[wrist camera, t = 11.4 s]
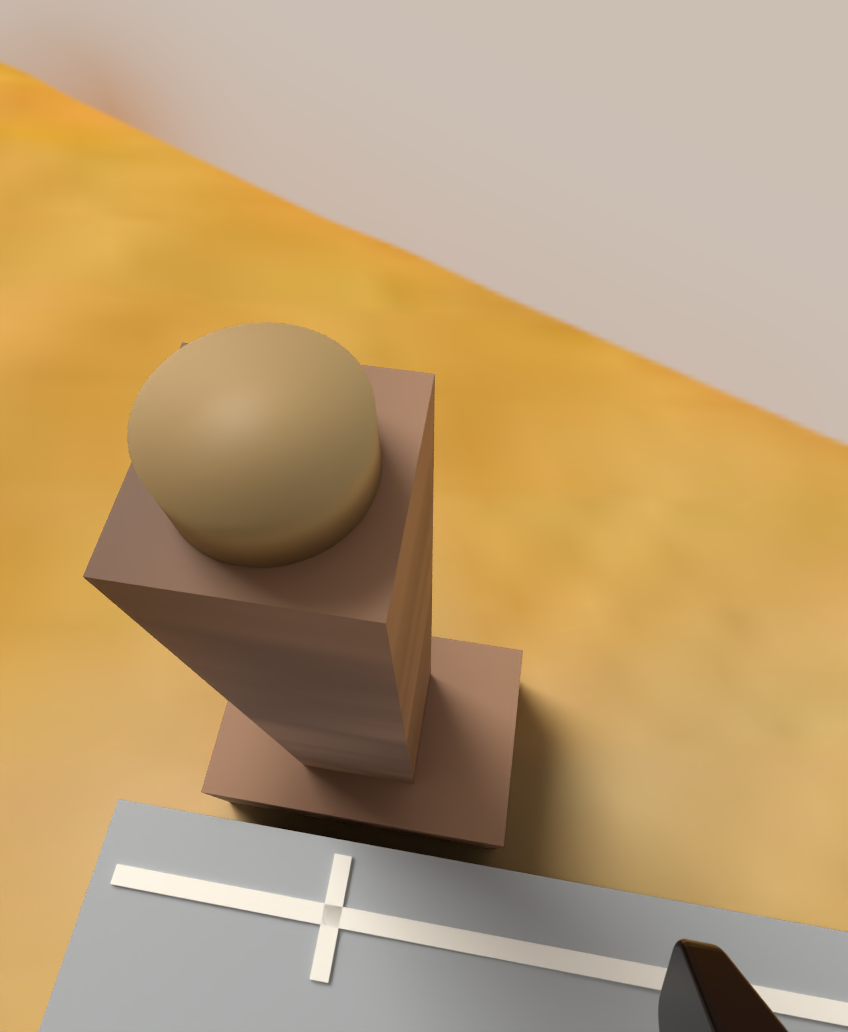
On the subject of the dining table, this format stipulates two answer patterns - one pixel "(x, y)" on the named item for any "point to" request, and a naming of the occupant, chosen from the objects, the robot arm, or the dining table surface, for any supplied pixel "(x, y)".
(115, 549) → the newel post
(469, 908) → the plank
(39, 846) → the dining table surface
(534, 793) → the dining table surface
